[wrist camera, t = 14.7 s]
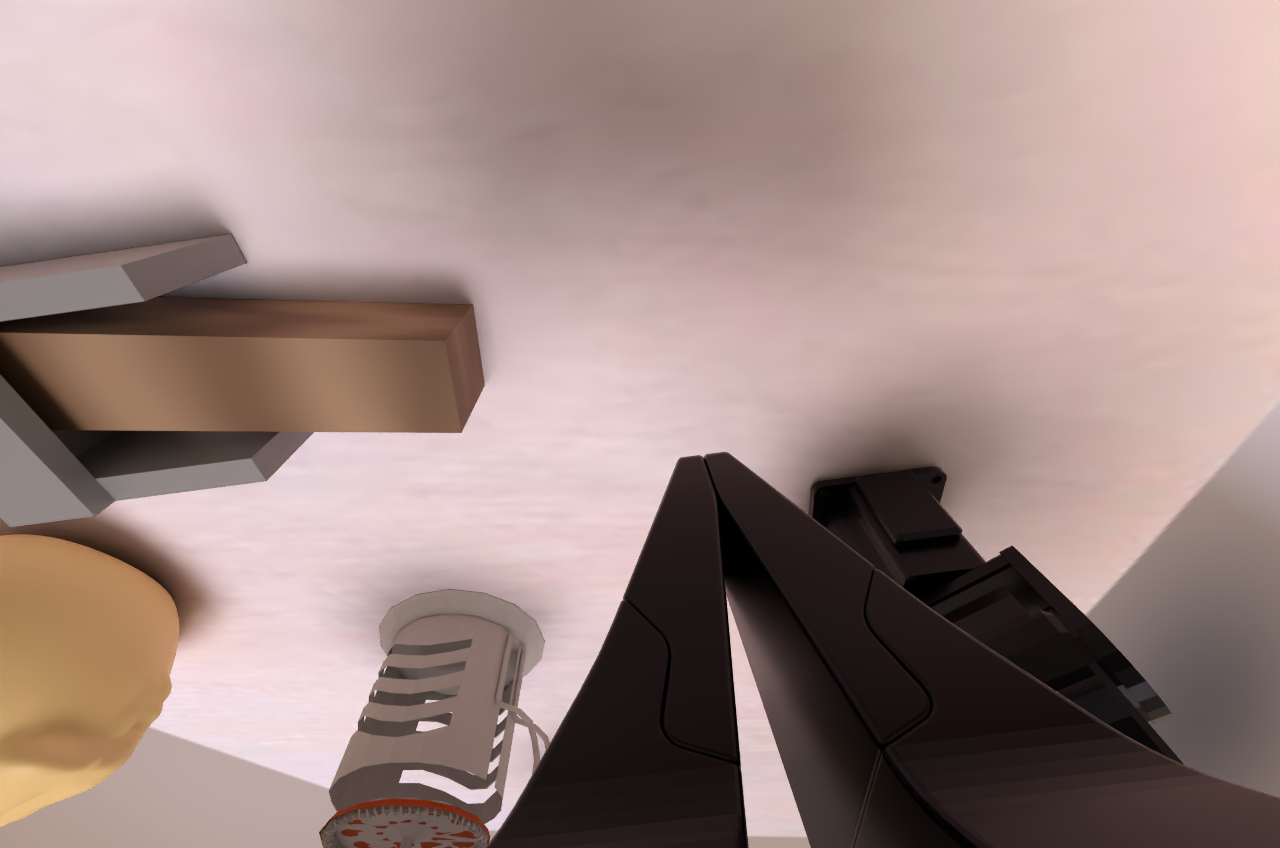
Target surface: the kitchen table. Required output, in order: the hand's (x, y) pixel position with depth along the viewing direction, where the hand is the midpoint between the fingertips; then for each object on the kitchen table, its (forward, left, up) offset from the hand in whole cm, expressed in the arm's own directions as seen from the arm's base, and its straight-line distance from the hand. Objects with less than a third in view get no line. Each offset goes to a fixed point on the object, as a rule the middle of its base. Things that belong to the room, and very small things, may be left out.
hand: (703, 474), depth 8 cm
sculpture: (-12, +31, -12) cm, 35 cm away
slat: (0, +14, -12) cm, 19 cm away
